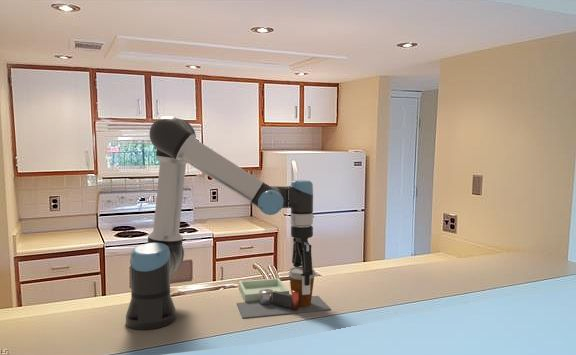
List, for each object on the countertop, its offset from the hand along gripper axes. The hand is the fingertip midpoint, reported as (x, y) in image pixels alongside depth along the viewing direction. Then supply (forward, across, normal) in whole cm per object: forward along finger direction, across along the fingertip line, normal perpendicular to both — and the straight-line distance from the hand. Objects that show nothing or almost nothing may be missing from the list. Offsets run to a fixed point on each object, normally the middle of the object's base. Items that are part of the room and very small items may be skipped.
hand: (301, 289), depth 146 cm
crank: (+5, -2, +6) cm, 8 cm away
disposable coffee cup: (+5, 0, 0) cm, 5 cm away
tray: (+6, +15, +11) cm, 19 cm away
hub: (+6, +4, +5) cm, 8 cm away
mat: (+6, 0, +7) cm, 9 cm away
